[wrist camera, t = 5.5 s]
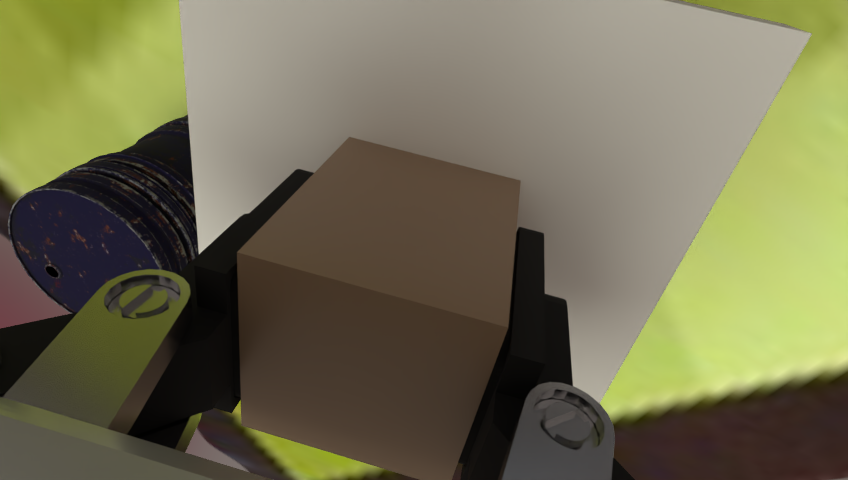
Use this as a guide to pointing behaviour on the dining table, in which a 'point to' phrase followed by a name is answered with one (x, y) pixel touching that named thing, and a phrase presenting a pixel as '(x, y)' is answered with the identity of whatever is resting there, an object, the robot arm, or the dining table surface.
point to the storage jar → (110, 218)
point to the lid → (455, 190)
